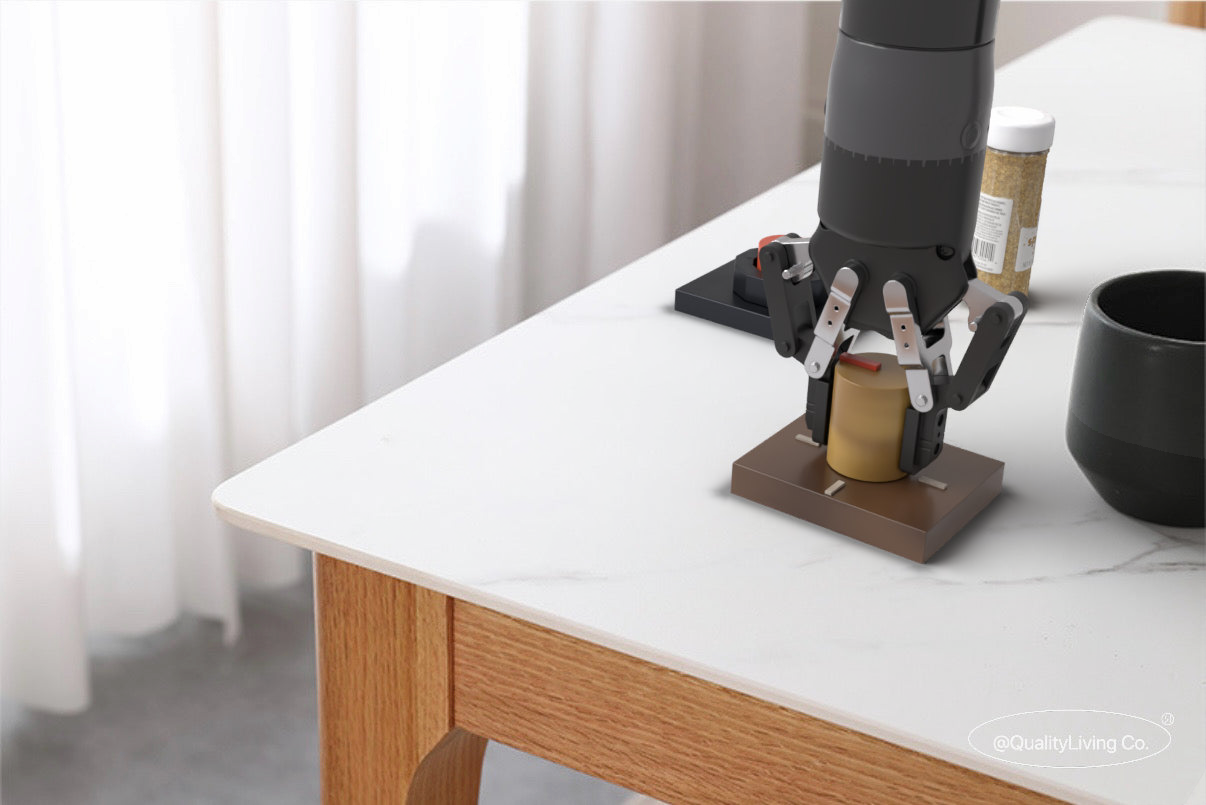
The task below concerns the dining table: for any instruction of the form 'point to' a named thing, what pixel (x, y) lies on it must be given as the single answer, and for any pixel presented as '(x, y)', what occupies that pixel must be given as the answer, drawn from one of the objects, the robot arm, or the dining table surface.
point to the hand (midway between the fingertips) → (870, 451)
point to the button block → (737, 296)
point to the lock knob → (868, 417)
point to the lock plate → (868, 493)
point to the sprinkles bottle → (1011, 196)
